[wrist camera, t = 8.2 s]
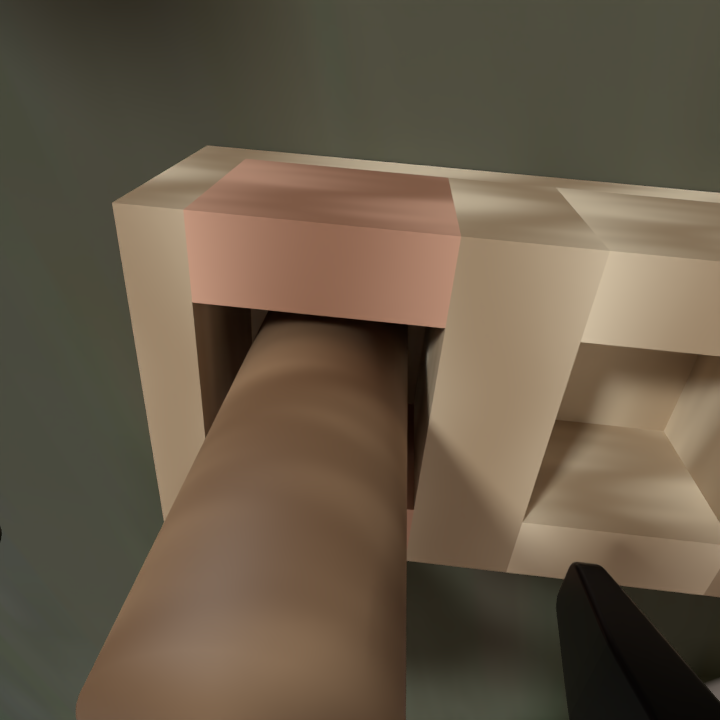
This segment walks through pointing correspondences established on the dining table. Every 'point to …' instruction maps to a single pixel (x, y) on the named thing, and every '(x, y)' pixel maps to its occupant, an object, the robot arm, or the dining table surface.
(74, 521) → the dining table surface
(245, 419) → the dowel
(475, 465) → the bore block
